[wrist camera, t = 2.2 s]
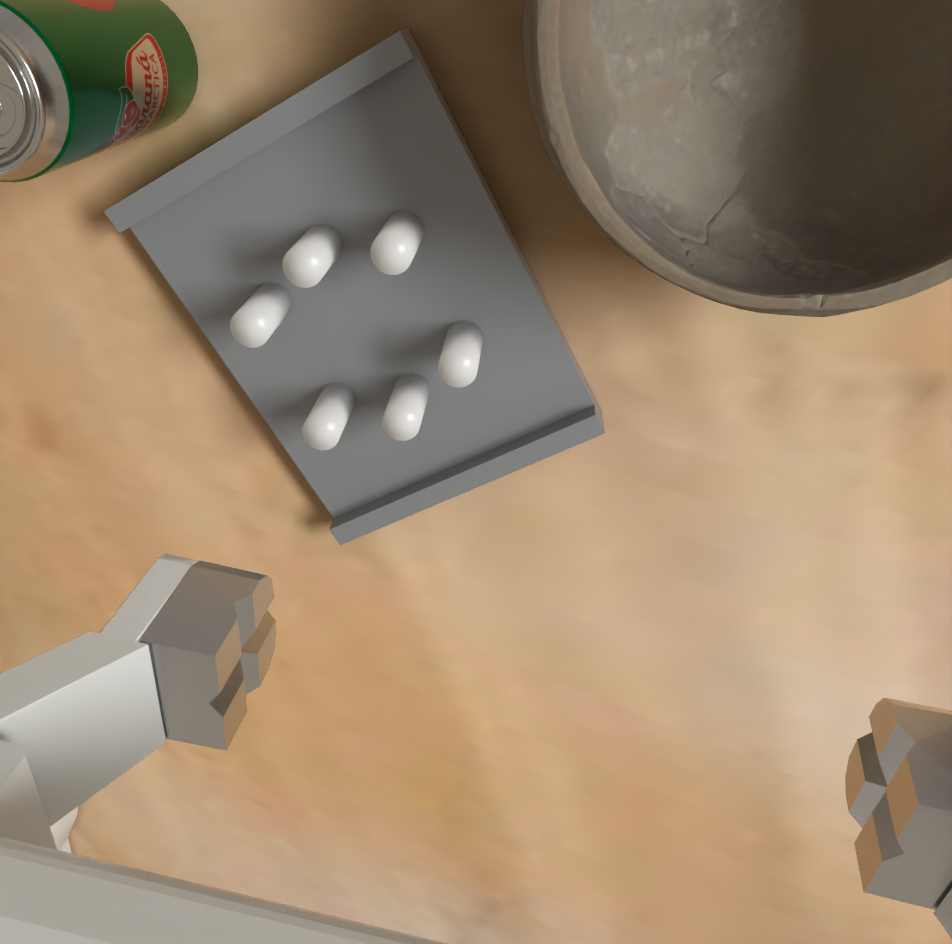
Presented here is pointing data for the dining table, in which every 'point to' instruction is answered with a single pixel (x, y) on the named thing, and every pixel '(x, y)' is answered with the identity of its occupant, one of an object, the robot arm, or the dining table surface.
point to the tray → (368, 293)
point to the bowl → (756, 141)
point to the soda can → (87, 79)
